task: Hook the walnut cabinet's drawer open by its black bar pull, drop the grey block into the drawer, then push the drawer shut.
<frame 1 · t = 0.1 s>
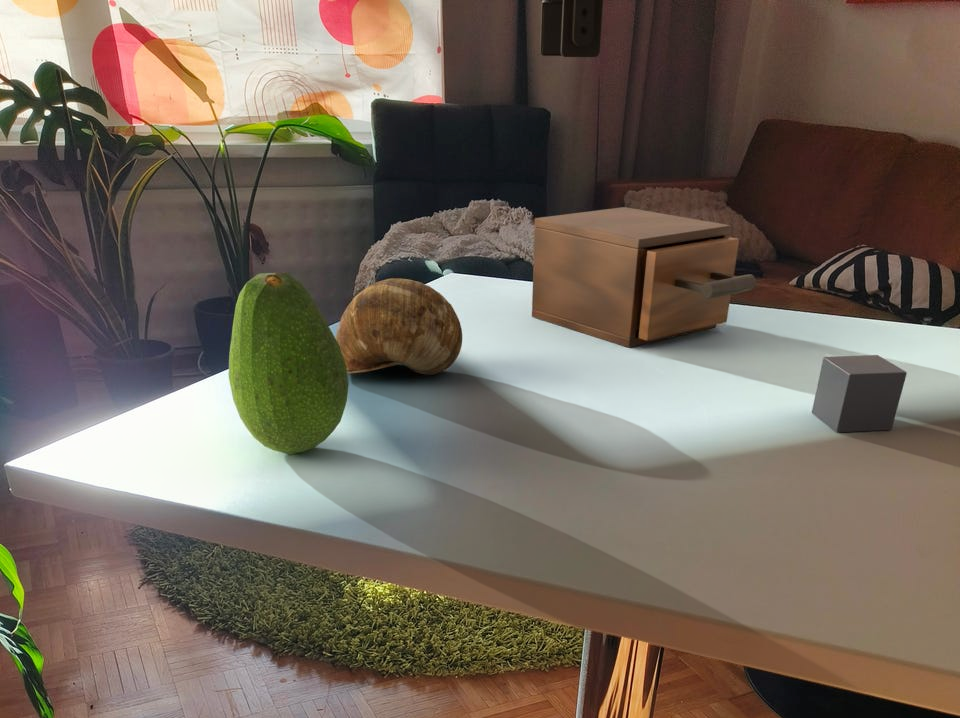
hand: (567, 56, 78), 23 cm above the table, tool pointing down, fingers open, 9 cm apart
block: (850, 421, 69), on the table
fruit: (298, 452, 64), on the table
seashell: (399, 375, 78), on the table
drawer: (659, 281, 87), point 5 cm above the table, slide at 0.5 cm
cabinet: (622, 321, 93), on the table
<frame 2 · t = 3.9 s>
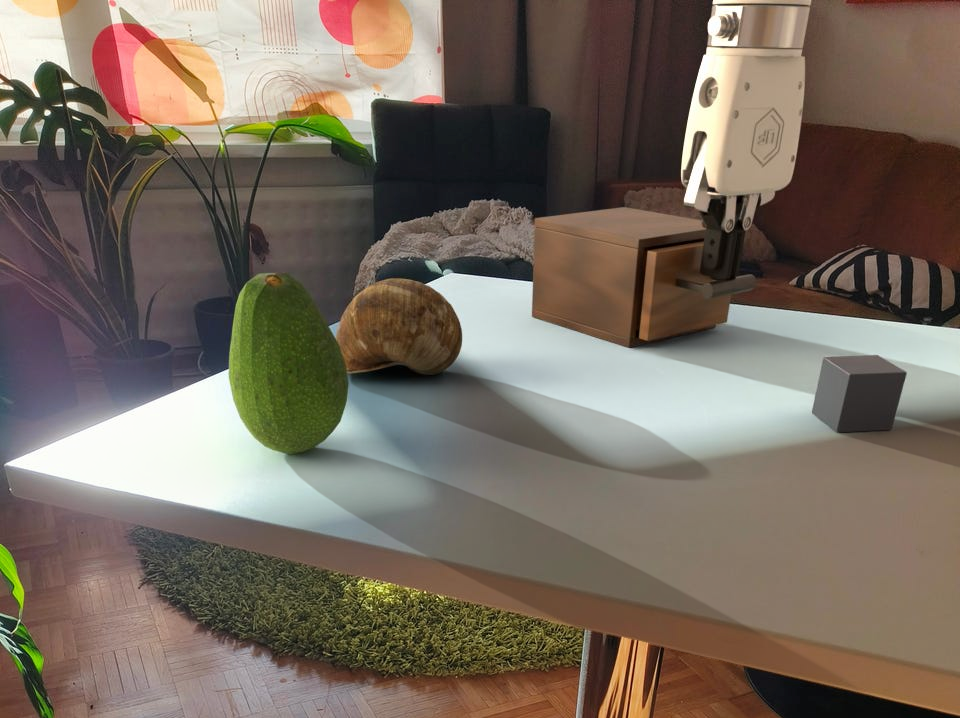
hand: (718, 275, 82), 7 cm above the table, tool pointing down, fingers closed
drawer: (660, 281, 87), point 5 cm above the table, slide at 0.5 cm, touching gripper
everything else where it was.
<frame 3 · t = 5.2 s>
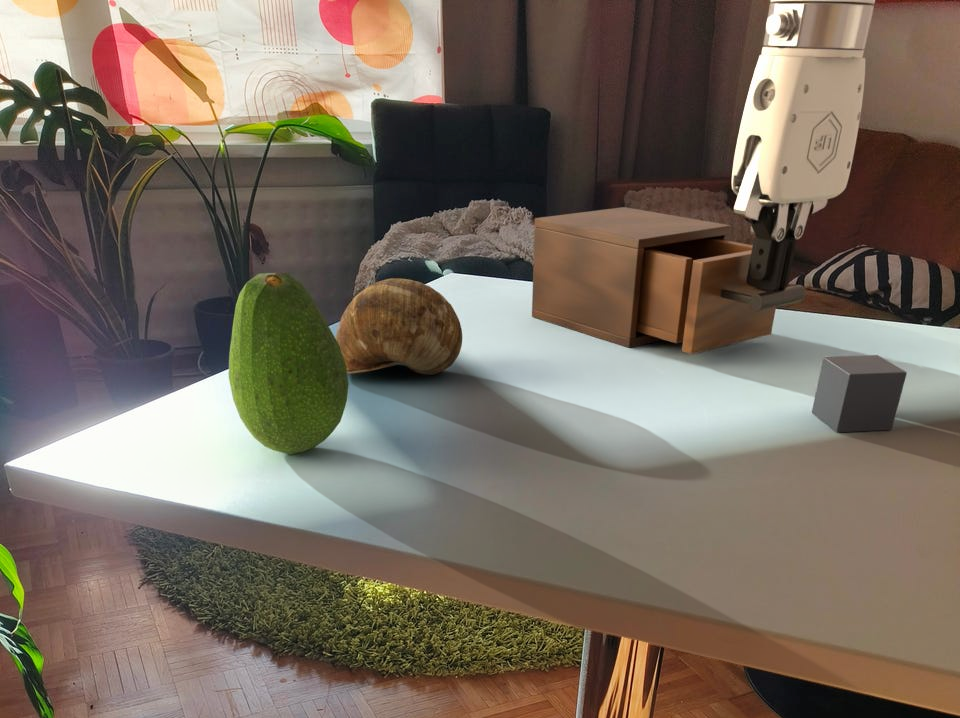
hand: (766, 286, 78), 6 cm above the table, tool pointing down, fingers closed
drawer: (702, 291, 84), point 5 cm above the table, slide at 6.0 cm, touching gripper
everything else where it was.
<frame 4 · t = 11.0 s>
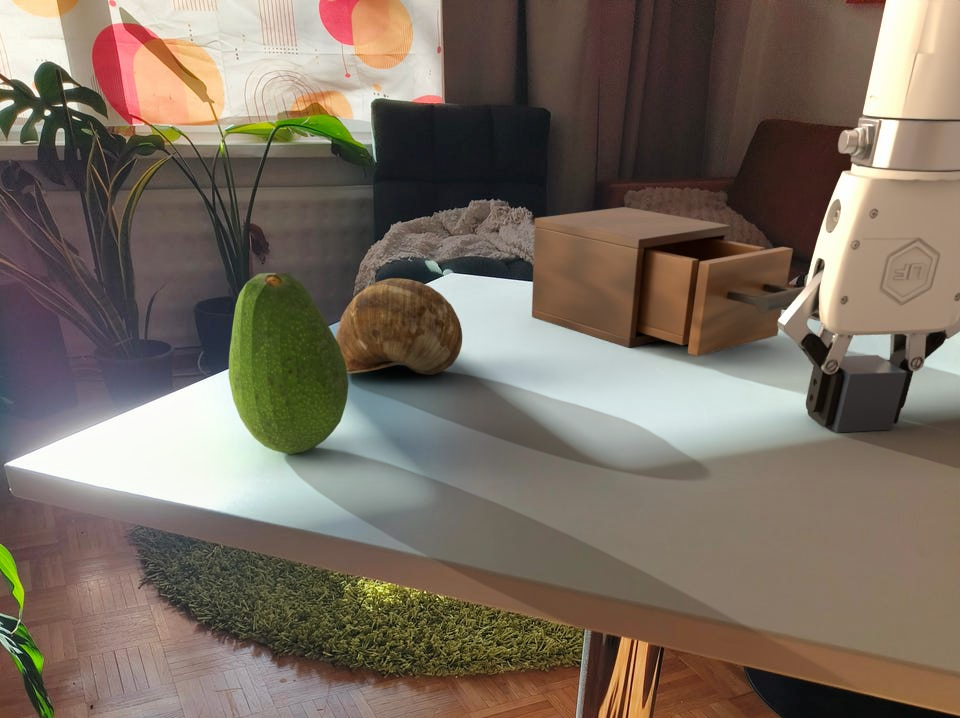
hand: (851, 416, 68), 0 cm above the table, tool pointing down, fingers closed on block, 4 cm apart
block: (850, 421, 69), on the table, touching gripper
drawer: (708, 293, 83), point 5 cm above the table, slide at 6.7 cm
everything else where it was.
when the fingers open (9 cm above the table, at t = 16.2 s): block drops 5 cm and tips over, resting on drawer.
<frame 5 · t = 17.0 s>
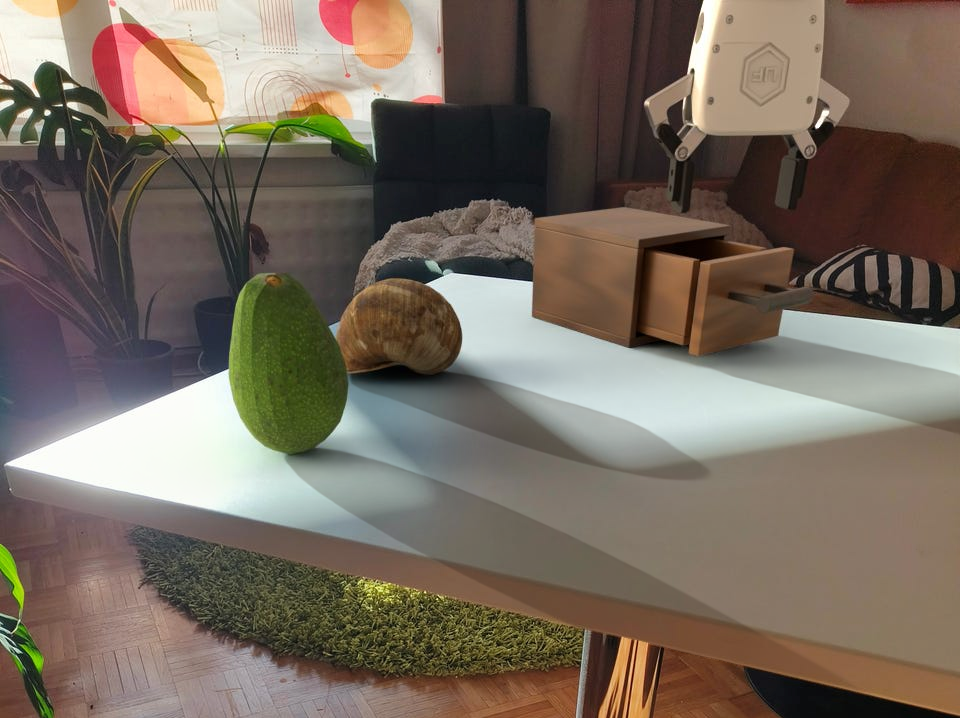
hand: (732, 209, 78), 12 cm above the table, tool pointing down, fingers open, 9 cm apart
block: (737, 301, 83), point 4 cm above the table, tilted 90°, touching drawer
drawer: (709, 293, 83), point 5 cm above the table, slide at 6.8 cm, touching block
everything else where it was.
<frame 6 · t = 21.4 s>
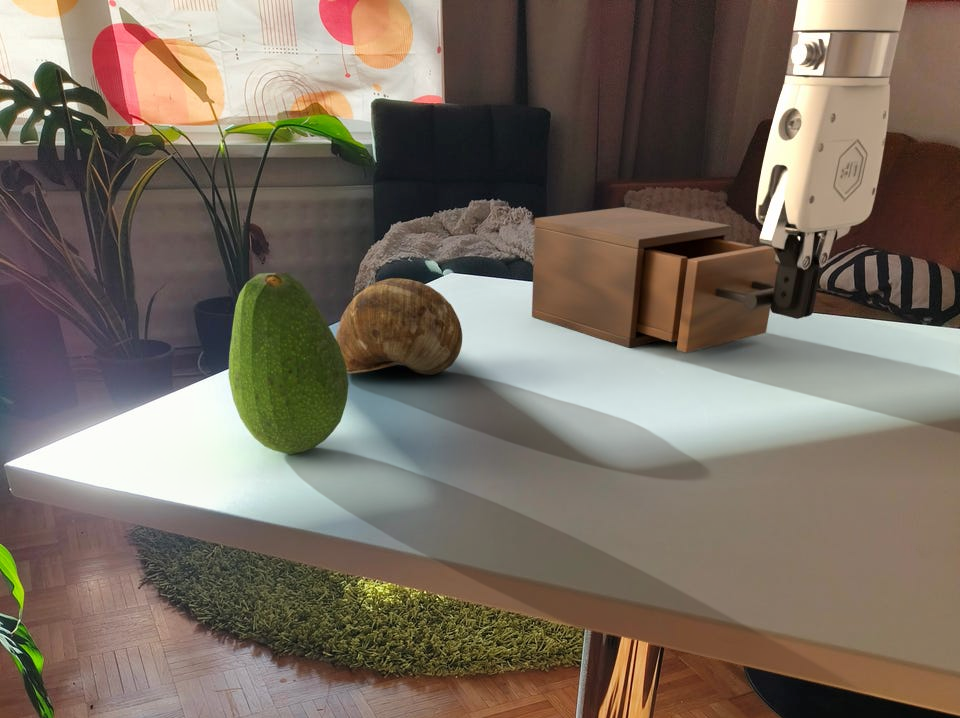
hand: (790, 313, 77), 5 cm above the table, tool pointing down, fingers closed
block: (725, 298, 84), point 4 cm above the table, tilted 90°, touching drawer
drawer: (697, 290, 84), point 5 cm above the table, slide at 5.3 cm, touching block, gripper
everything else where it was.
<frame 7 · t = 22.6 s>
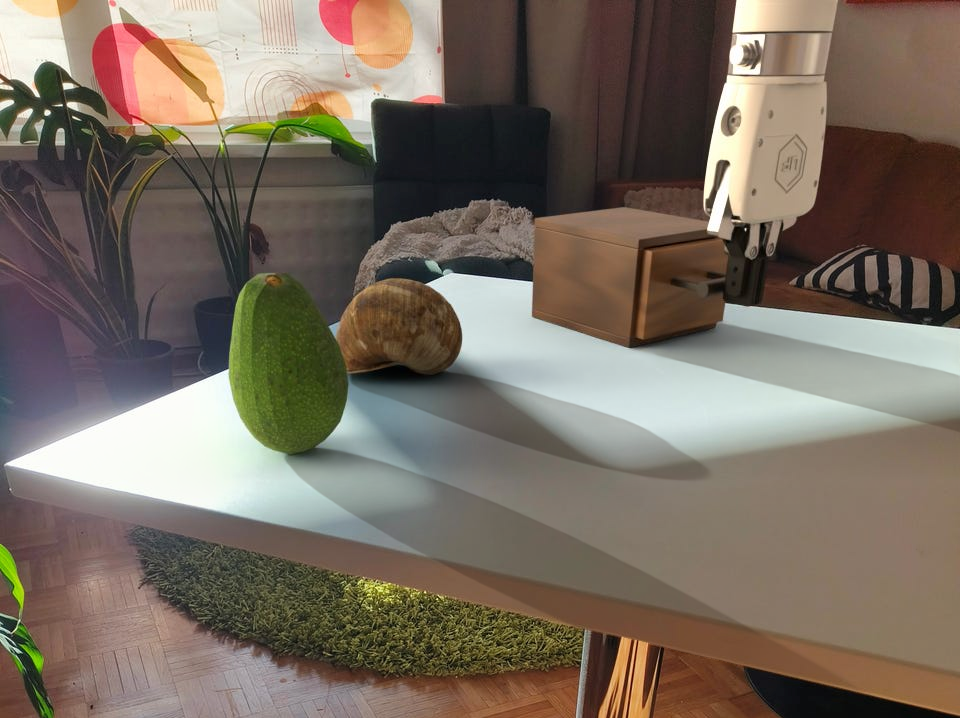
hand: (741, 302, 81), 5 cm above the table, tool pointing down, fingers closed
block: (682, 287, 88), point 4 cm above the table, tilted 90°, touching drawer
drawer: (656, 280, 88), point 5 cm above the table, slide at 0.0 cm, touching block, cabinet, gripper
everything else where it was.
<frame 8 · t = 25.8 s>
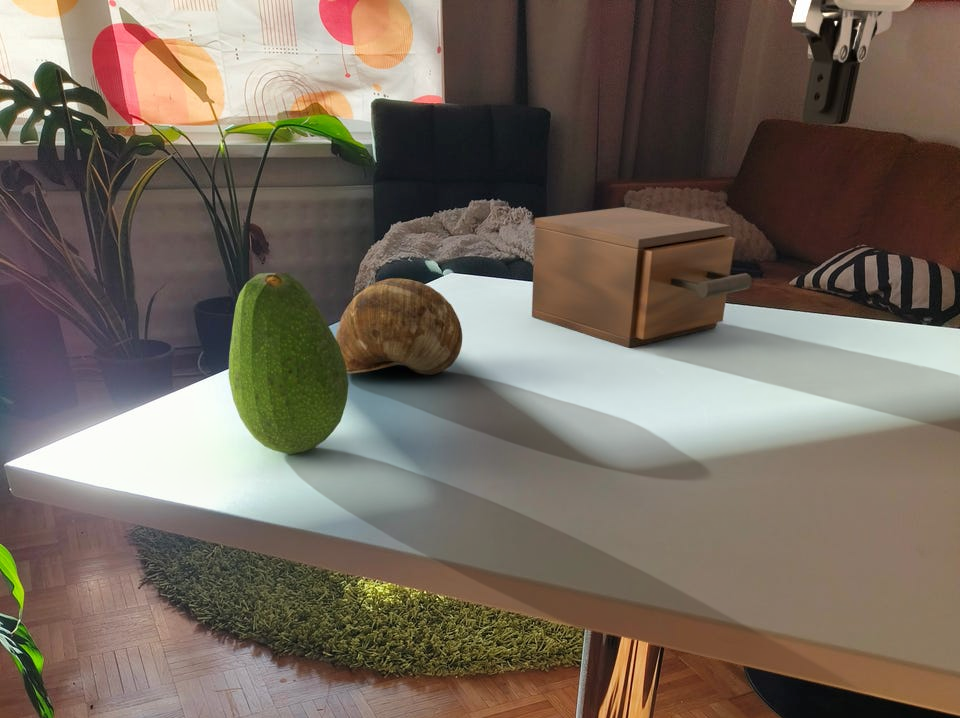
hand: (824, 122, 70), 19 cm above the table, tool pointing down, fingers closed
drawer: (656, 280, 88), point 5 cm above the table, slide at 0.0 cm, touching block
everything else where it was.
at the end: drawer pulled out 6.8 cm at the most during the clip, back to where it started at the end; block inside the target area in the cabinet (6.3 cm from its centre), point 4.2 cm above the cabinet's base; drawer slide at 0.0 cm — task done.
